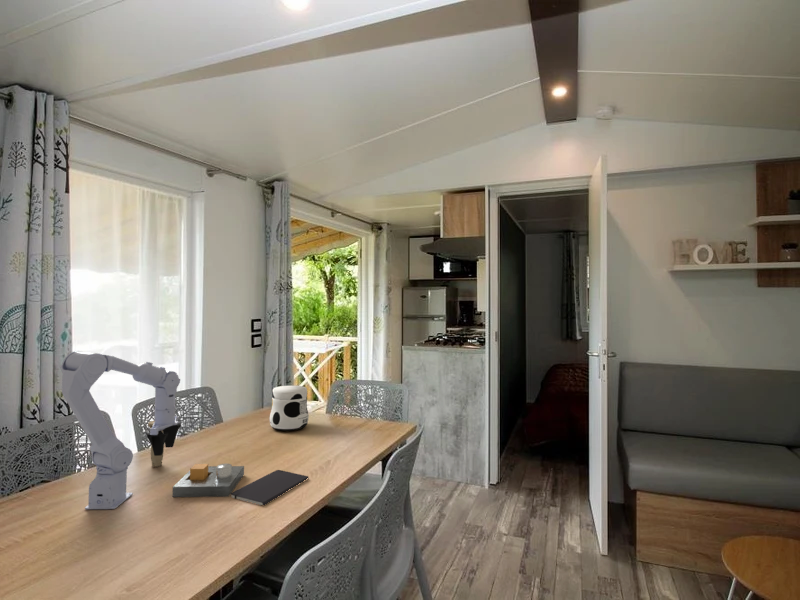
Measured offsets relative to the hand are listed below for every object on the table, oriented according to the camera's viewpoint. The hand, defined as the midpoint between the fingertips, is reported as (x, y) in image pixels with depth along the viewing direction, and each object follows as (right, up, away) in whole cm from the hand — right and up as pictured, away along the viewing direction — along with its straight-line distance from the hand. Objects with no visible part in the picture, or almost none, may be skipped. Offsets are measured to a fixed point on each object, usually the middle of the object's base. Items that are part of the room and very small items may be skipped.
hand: (164, 451), depth 139 cm
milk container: (+24, -11, +61) cm, 66 cm away
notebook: (+35, -11, -4) cm, 37 cm away
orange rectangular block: (+13, -10, -3) cm, 16 cm away
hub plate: (+16, -10, -3) cm, 19 cm away
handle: (-9, -10, +12) cm, 18 cm away
